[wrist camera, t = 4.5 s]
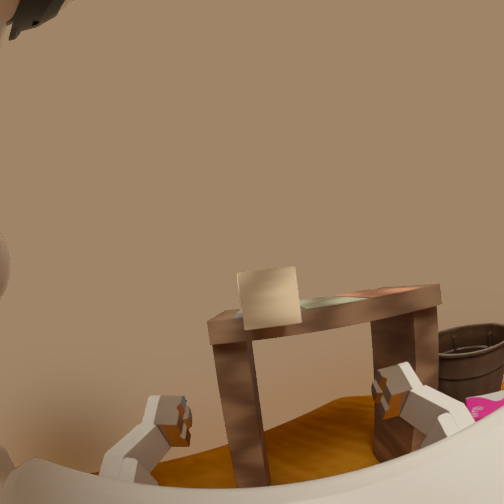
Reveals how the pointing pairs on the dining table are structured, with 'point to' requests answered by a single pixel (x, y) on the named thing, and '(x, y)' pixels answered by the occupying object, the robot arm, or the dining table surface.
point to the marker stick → (269, 298)
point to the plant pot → (471, 360)
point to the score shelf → (318, 319)
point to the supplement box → (484, 404)
